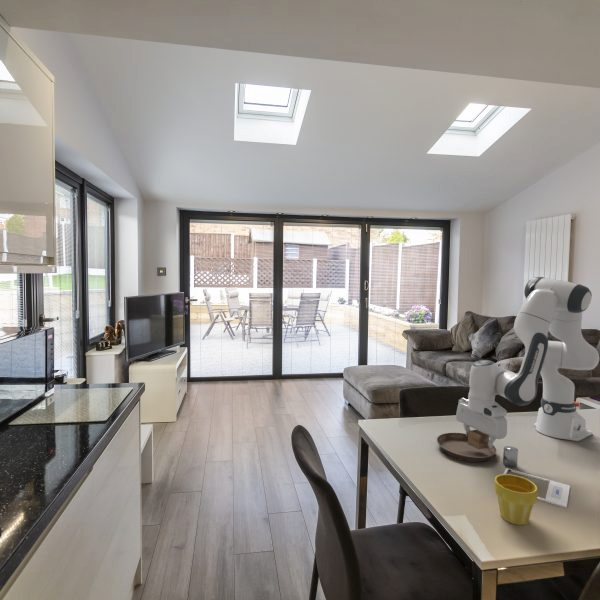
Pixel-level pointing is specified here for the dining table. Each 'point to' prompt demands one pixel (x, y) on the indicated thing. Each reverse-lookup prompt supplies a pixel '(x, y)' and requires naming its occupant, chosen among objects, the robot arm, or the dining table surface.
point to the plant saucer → (463, 448)
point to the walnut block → (477, 439)
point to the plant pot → (515, 497)
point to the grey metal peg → (510, 457)
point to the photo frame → (551, 490)
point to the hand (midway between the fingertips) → (478, 441)
